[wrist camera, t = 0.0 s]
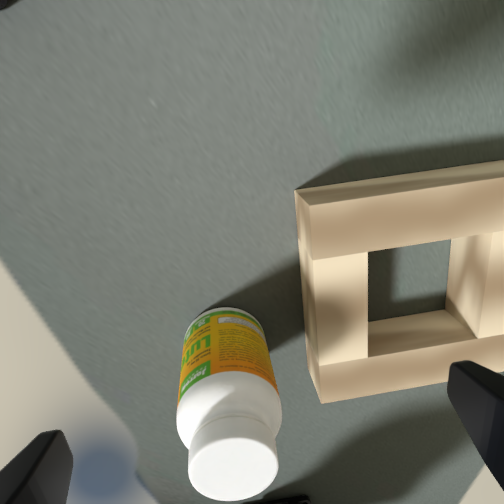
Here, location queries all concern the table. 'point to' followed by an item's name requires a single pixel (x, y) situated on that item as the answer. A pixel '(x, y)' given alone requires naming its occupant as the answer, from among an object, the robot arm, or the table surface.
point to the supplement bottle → (228, 405)
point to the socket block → (391, 236)
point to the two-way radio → (3, 3)
